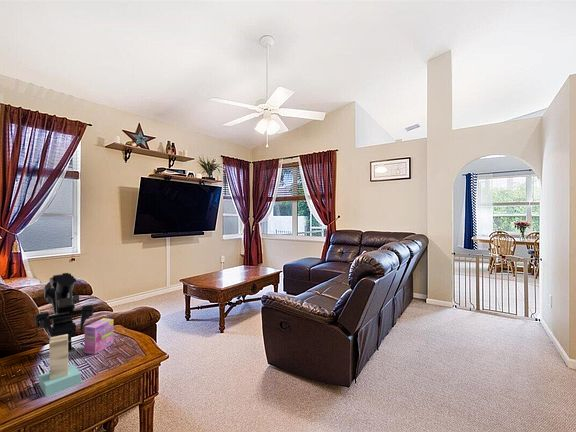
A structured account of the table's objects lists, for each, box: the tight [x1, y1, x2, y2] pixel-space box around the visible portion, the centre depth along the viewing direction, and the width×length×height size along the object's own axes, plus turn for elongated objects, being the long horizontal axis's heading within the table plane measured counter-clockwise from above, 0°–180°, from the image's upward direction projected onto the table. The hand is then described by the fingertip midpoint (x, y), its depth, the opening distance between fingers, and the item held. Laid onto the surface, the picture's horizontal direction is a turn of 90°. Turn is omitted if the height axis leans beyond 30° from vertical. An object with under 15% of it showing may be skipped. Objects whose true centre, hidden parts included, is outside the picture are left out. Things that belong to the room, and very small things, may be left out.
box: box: [84, 317, 114, 355], centre depth 132 cm, size 10×6×12 cm, turn 168°
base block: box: [38, 363, 82, 397], centre depth 105 cm, size 10×10×4 cm
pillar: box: [48, 334, 69, 380], centre depth 104 cm, size 5×5×13 cm
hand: (67, 334), depth 115 cm, fingers open, 9 cm apart
